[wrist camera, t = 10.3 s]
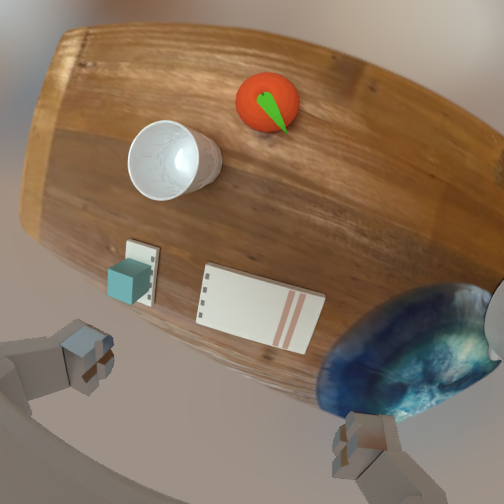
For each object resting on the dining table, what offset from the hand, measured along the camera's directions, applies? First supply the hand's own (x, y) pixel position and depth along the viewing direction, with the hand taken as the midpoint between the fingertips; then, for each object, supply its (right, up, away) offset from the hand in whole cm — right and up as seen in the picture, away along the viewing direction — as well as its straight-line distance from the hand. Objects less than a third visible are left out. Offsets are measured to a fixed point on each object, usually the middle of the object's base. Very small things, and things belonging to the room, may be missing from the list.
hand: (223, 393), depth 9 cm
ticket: (+2, -3, +31) cm, 31 cm away
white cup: (-6, +16, +28) cm, 32 cm away
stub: (-15, +1, +33) cm, 36 cm away
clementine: (+4, +21, +24) cm, 32 cm away
